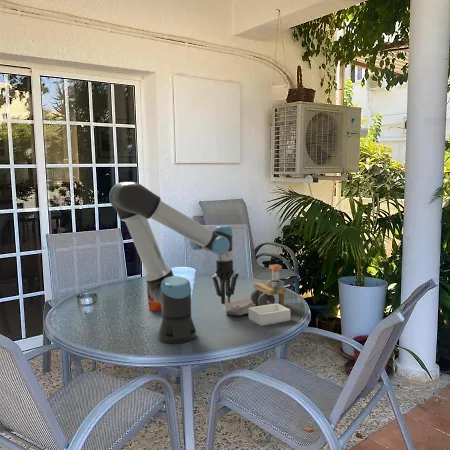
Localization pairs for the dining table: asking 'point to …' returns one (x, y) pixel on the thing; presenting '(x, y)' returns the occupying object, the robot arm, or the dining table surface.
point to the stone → (239, 307)
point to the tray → (269, 314)
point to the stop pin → (275, 272)
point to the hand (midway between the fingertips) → (225, 310)
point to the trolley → (268, 292)
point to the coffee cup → (153, 304)
